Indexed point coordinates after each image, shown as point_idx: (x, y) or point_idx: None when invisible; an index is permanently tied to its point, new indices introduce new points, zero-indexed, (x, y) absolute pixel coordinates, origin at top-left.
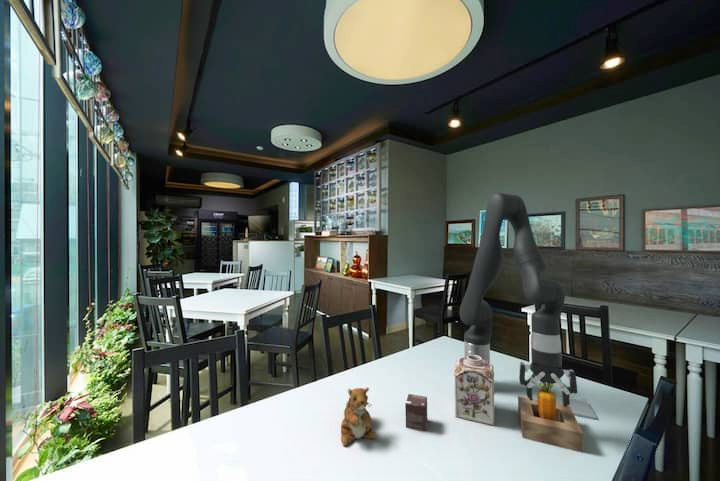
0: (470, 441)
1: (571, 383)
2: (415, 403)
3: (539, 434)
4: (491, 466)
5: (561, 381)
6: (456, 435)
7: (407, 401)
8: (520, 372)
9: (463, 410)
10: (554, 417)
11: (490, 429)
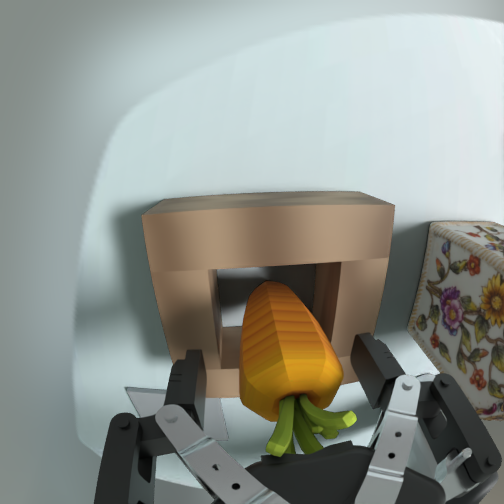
0: (472, 121)
1: (131, 473)
2: None
3: (314, 196)
4: (425, 36)
5: (202, 482)
6: (492, 139)
7: None
8: (482, 425)
9: (498, 229)
10: (247, 305)
11: (438, 198)
